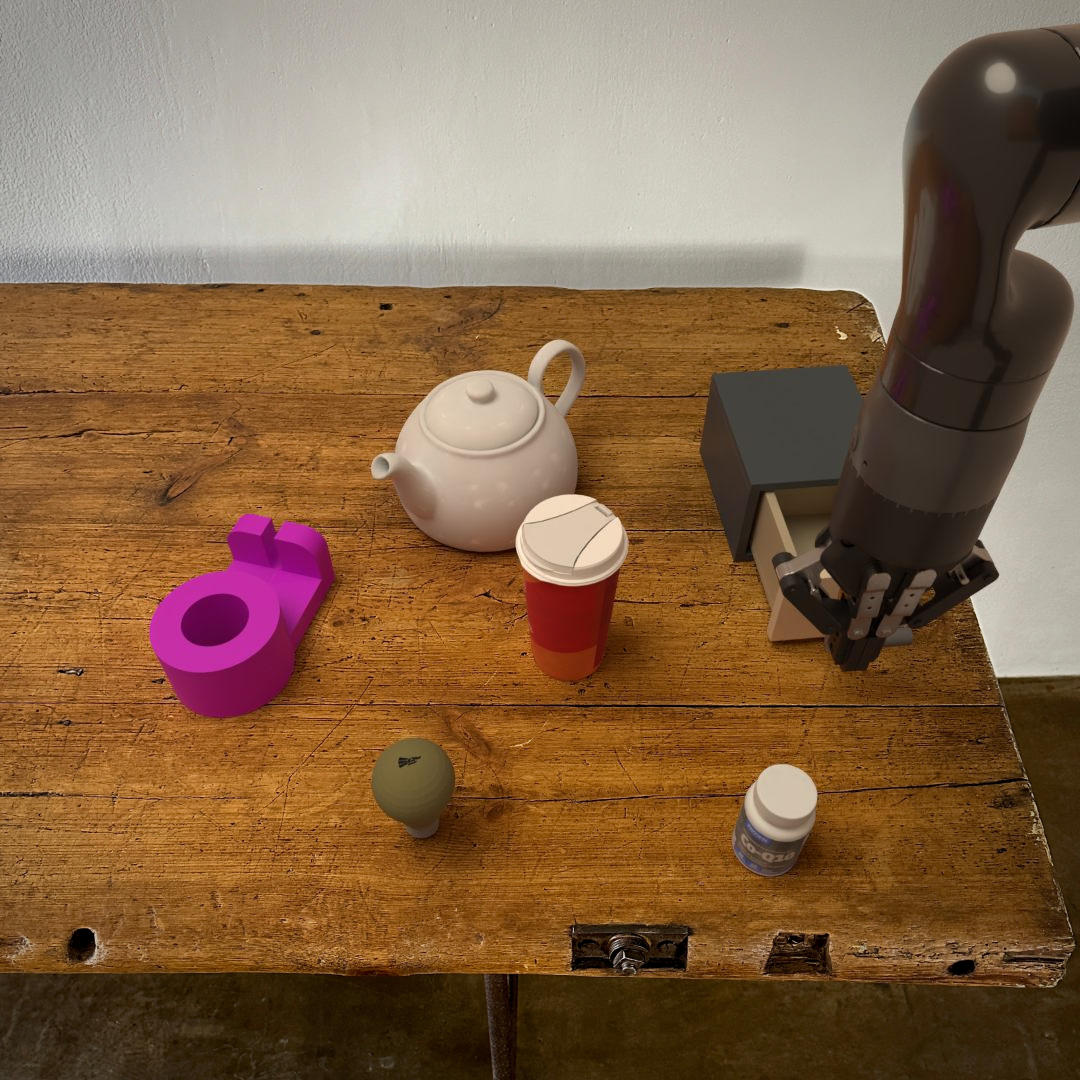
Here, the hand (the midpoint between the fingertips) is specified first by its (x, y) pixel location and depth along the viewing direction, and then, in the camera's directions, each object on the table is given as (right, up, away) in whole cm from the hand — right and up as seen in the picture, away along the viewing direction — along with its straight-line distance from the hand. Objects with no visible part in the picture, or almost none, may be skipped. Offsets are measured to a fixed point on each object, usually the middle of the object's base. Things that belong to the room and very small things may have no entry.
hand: (849, 659), depth 61 cm
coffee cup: (-17, -2, +20) cm, 26 cm away
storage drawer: (+5, +3, +23) cm, 23 cm away
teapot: (-24, +12, +33) cm, 42 cm away
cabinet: (+4, +12, +32) cm, 34 cm away
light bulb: (-28, -13, +9) cm, 33 cm away
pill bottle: (-3, -15, +9) cm, 17 cm away
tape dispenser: (-44, -1, +21) cm, 49 cm away
